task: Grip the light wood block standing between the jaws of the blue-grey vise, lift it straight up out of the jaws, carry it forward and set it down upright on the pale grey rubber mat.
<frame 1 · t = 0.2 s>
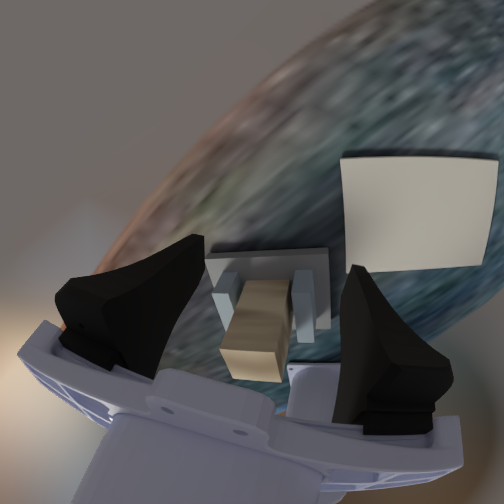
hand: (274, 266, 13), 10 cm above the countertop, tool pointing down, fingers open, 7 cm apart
mat: (425, 216, 19), on the countertop
vise: (272, 290, 27), on the countertop
peg: (271, 296, 26), point 1 cm above the countertop, touching vise
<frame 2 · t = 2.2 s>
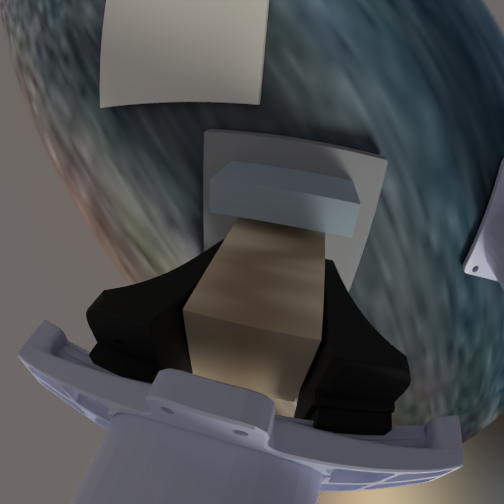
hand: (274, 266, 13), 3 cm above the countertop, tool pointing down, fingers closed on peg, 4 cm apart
vise: (284, 232, 16), on the countertop
peg: (281, 241, 15), point 1 cm above the countertop, touching gripper, vise
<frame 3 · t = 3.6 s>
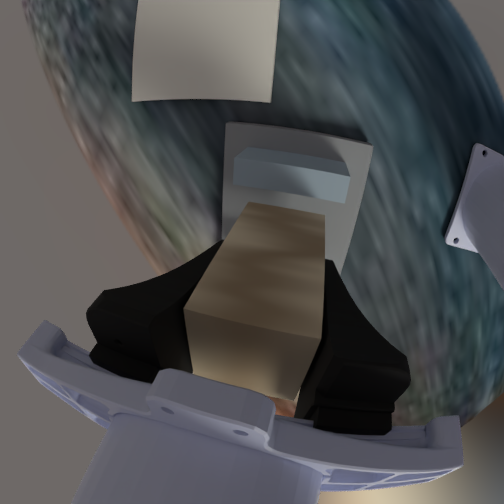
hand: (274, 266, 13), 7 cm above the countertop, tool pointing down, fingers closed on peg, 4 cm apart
mat: (202, 5, 12), on the countertop
vise: (289, 207, 19), on the countertop
peg: (281, 241, 15), point 5 cm above the countertop, touching gripper
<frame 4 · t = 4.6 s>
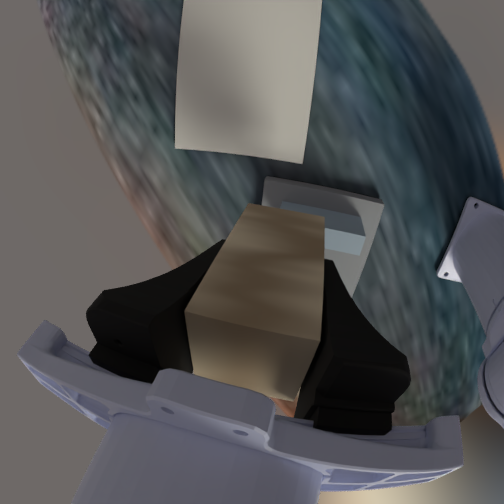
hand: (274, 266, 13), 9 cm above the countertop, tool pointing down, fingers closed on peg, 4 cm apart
mat: (243, 63, 16), on the countertop
vise: (312, 248, 23), on the countertop
peg: (281, 242, 15), point 7 cm above the countertop, touching gripper
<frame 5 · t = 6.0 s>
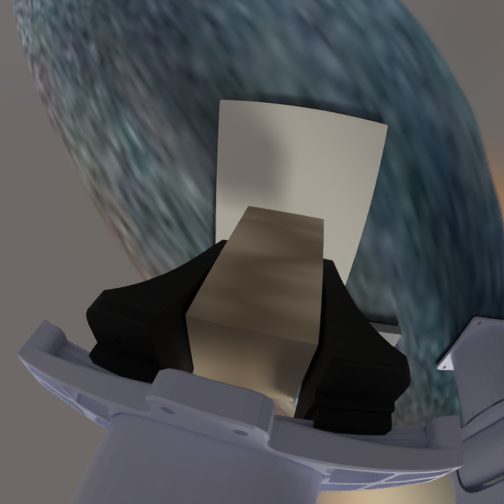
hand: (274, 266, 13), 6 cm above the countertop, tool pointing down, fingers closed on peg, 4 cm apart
mat: (290, 212, 18), on the countertop
vise: (336, 356, 25), on the countertop
peg: (281, 244, 15), point 4 cm above the countertop, touching gripper
when the fingers open (4 cm above the countertop, at t = 7.1 s): peg drops 1 cm, resting on mat.
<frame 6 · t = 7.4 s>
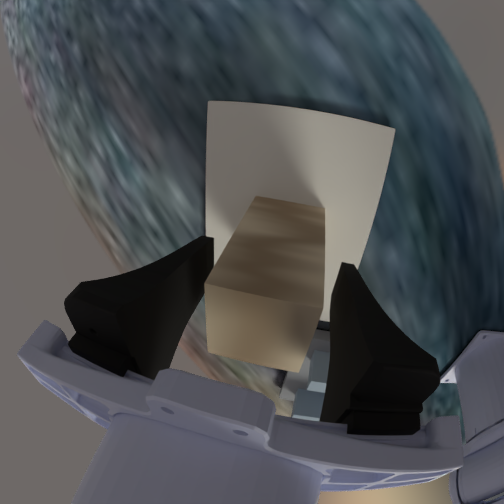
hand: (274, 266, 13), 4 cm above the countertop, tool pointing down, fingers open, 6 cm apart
mat: (286, 224, 17), on the countertop
vise: (335, 371, 24), on the countertop
peg: (285, 232, 17), resting on mat
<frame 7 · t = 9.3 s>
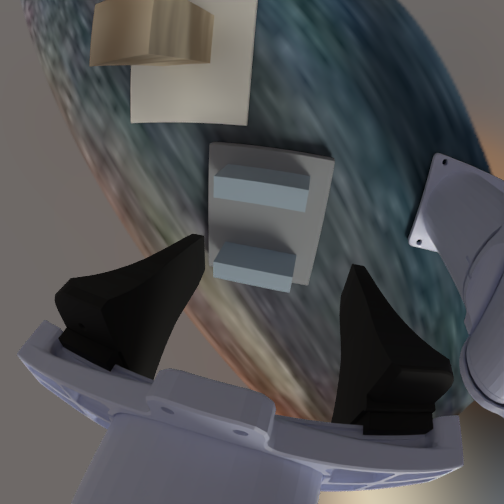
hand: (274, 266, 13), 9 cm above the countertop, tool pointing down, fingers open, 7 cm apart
mat: (188, 38, 15), on the countertop
vise: (265, 214, 22), on the countertop
peg: (186, 40, 15), resting on mat
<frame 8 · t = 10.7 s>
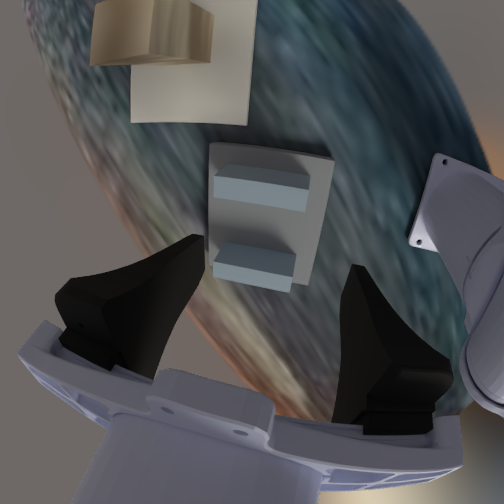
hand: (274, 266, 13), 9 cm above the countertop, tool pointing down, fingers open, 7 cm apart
mat: (188, 37, 15), on the countertop
vise: (265, 214, 22), on the countertop
peg: (187, 40, 15), resting on mat
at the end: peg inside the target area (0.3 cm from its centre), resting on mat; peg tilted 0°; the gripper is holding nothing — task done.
